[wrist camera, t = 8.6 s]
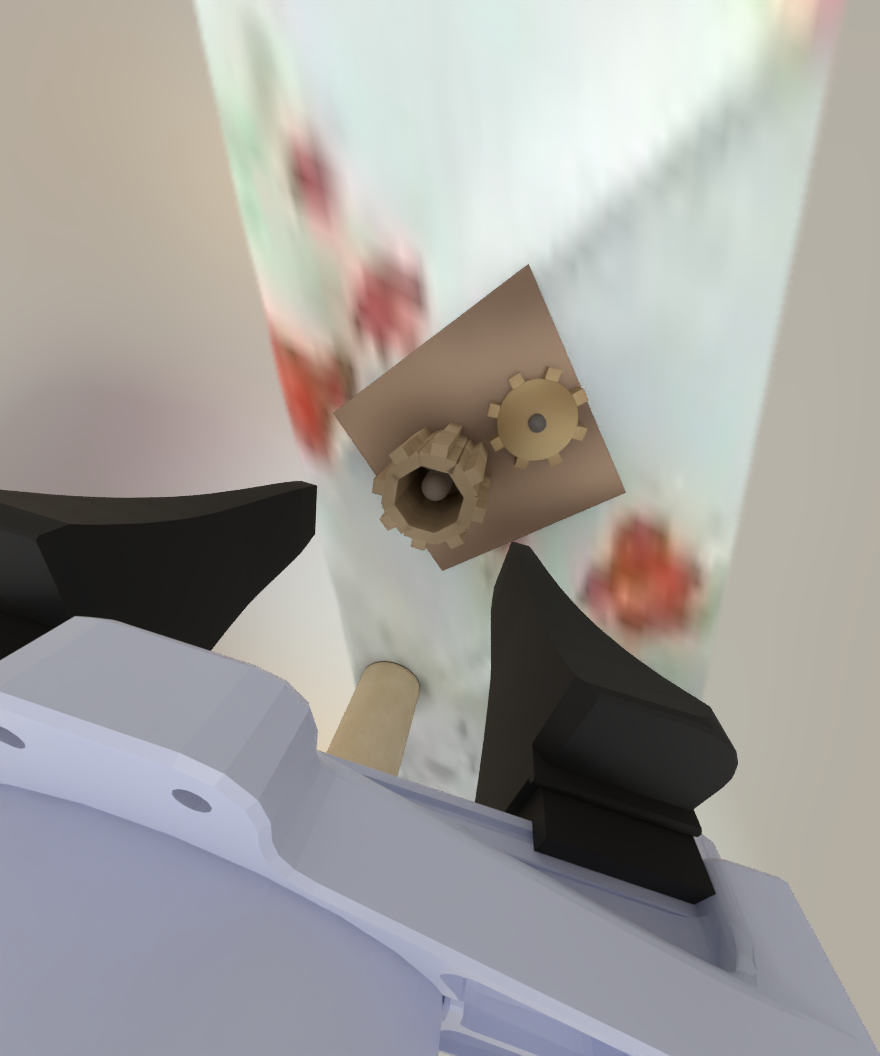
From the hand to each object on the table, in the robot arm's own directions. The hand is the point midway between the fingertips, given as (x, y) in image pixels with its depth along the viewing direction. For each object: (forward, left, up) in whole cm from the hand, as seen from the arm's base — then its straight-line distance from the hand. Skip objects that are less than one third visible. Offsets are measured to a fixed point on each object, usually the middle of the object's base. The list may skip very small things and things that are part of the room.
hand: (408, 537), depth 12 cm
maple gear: (0, 0, -8) cm, 8 cm away
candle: (-15, +15, -10) cm, 24 cm away
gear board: (0, -2, -9) cm, 10 cm away
